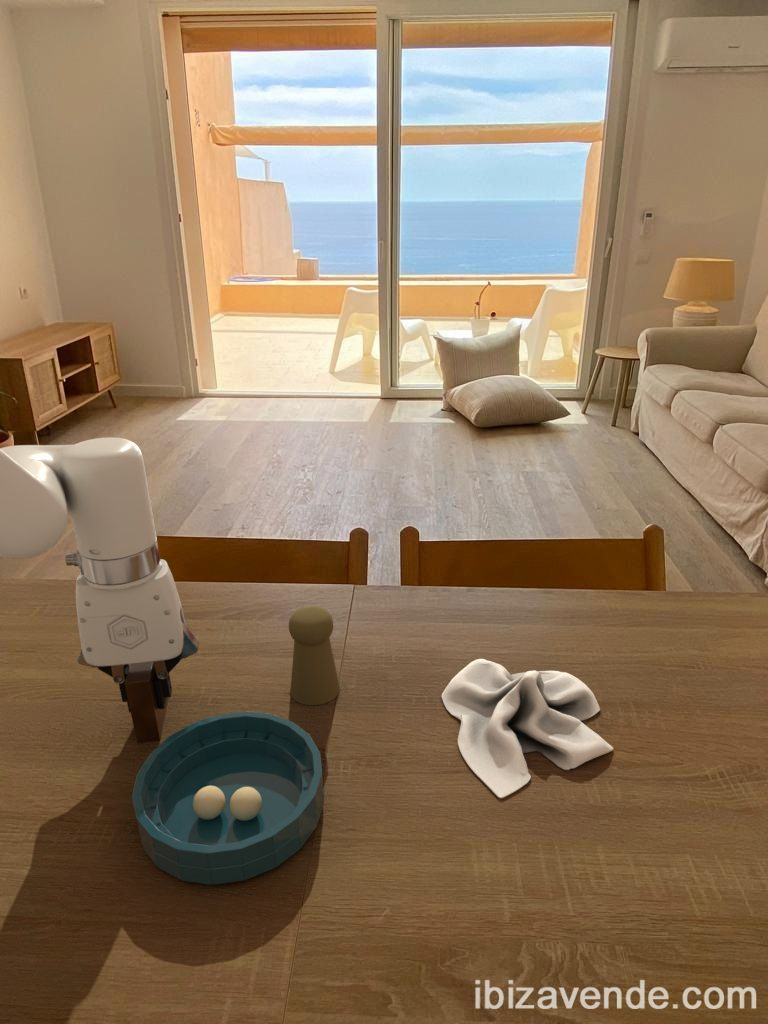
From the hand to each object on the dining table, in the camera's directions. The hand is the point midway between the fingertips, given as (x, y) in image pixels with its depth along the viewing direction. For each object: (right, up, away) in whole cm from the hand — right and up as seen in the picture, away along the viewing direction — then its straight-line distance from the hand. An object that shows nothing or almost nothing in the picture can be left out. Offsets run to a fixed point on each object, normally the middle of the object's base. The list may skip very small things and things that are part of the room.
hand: (148, 701), depth 78 cm
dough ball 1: (+10, -6, -12) cm, 17 cm away
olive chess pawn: (+18, 0, +6) cm, 19 cm away
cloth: (+42, -3, +1) cm, 43 cm away
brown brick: (0, -2, +2) cm, 3 cm away
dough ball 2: (+13, -6, -12) cm, 19 cm away
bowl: (+12, -8, -10) cm, 17 cm away
